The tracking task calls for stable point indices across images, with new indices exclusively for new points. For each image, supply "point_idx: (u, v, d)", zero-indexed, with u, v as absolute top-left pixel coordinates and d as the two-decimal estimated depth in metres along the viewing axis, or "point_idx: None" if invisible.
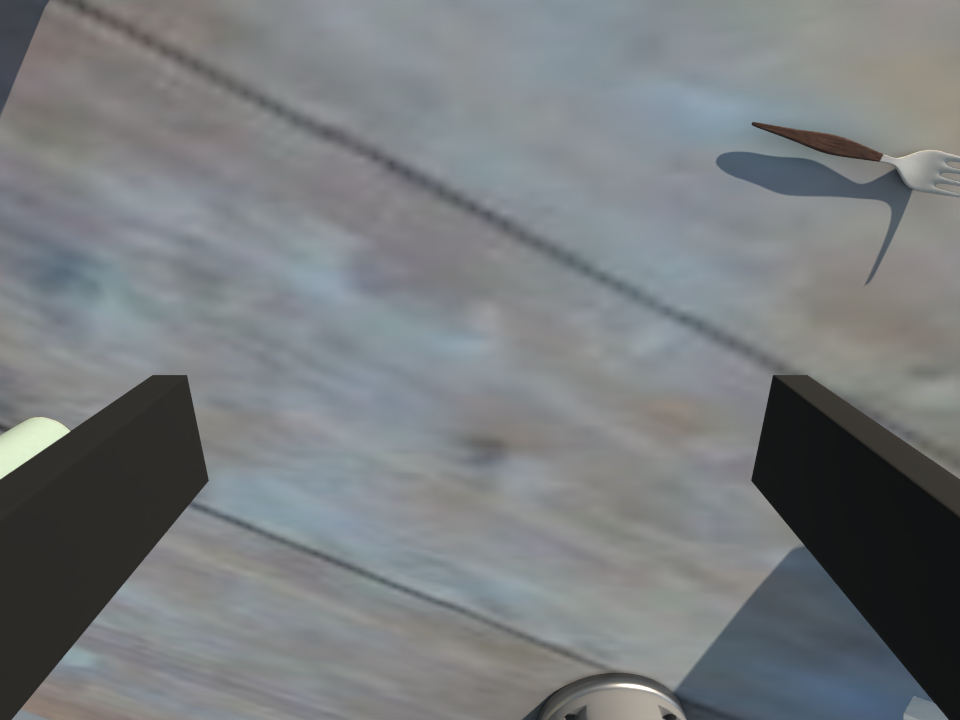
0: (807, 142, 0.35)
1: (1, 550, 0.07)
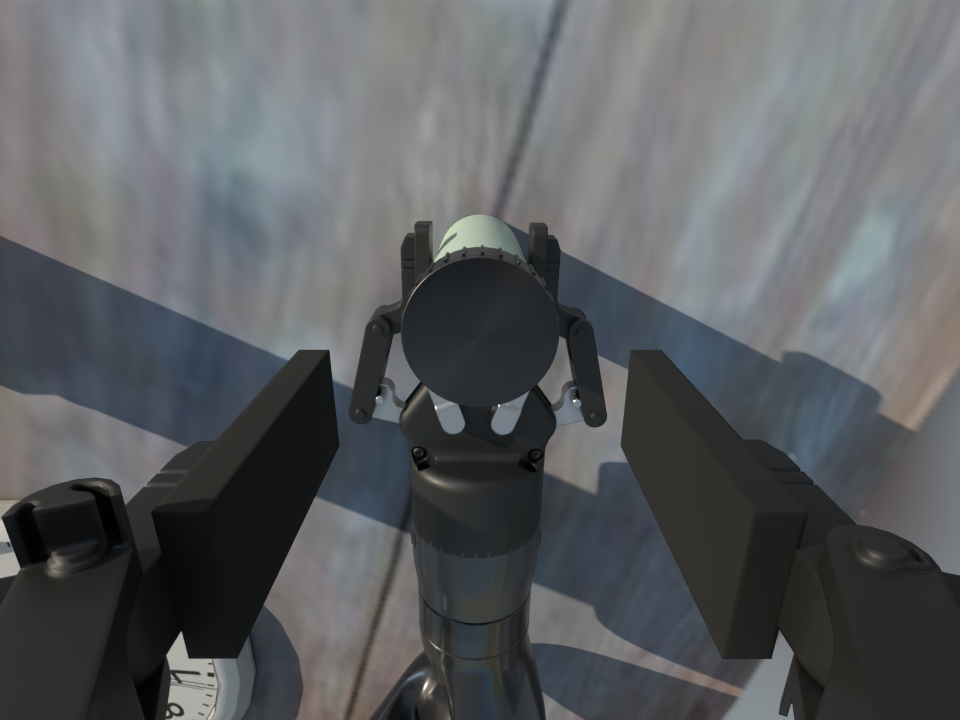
0: None
1: (250, 482, 0.09)
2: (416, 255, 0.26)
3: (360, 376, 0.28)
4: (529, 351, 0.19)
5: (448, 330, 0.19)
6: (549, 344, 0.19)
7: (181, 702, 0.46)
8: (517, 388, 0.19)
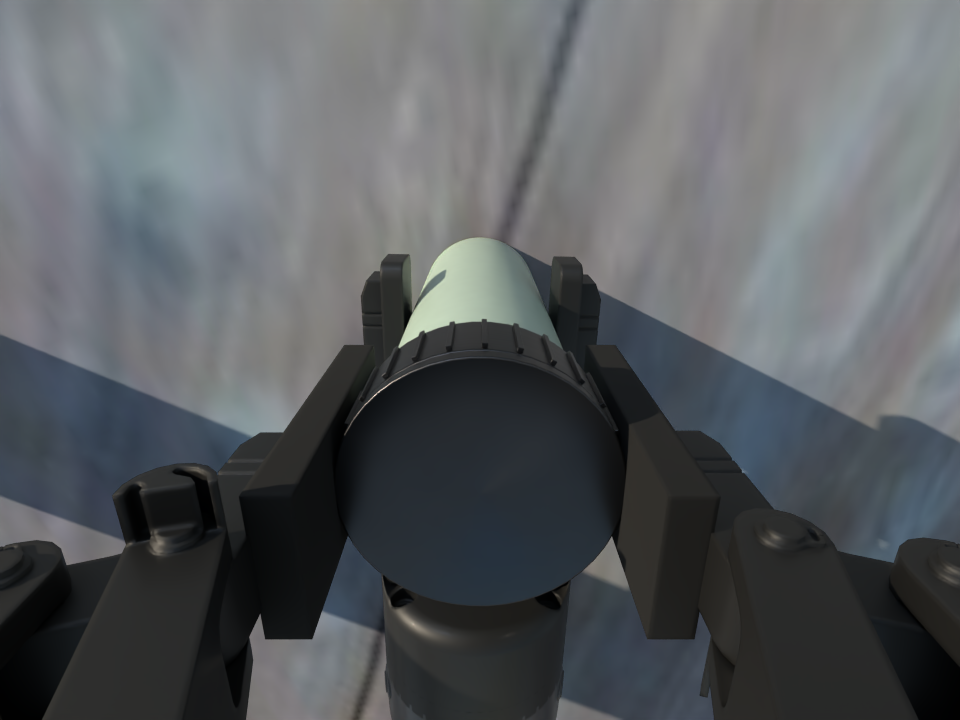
0: None
1: (320, 469, 0.09)
2: (384, 308, 0.17)
3: None
4: (570, 519, 0.10)
5: (421, 484, 0.10)
6: (608, 507, 0.10)
7: None
8: (547, 578, 0.11)
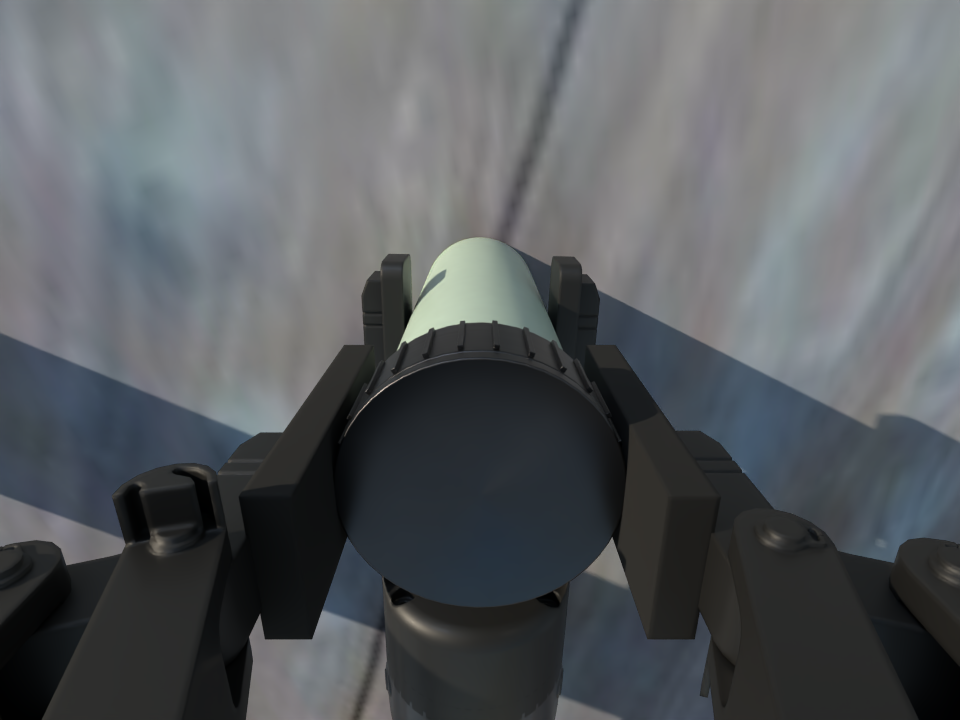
0: None
1: (320, 469, 0.09)
2: (384, 307, 0.17)
3: None
4: (466, 408, 0.09)
5: (494, 542, 0.10)
6: (435, 380, 0.09)
7: None
8: (549, 394, 0.09)
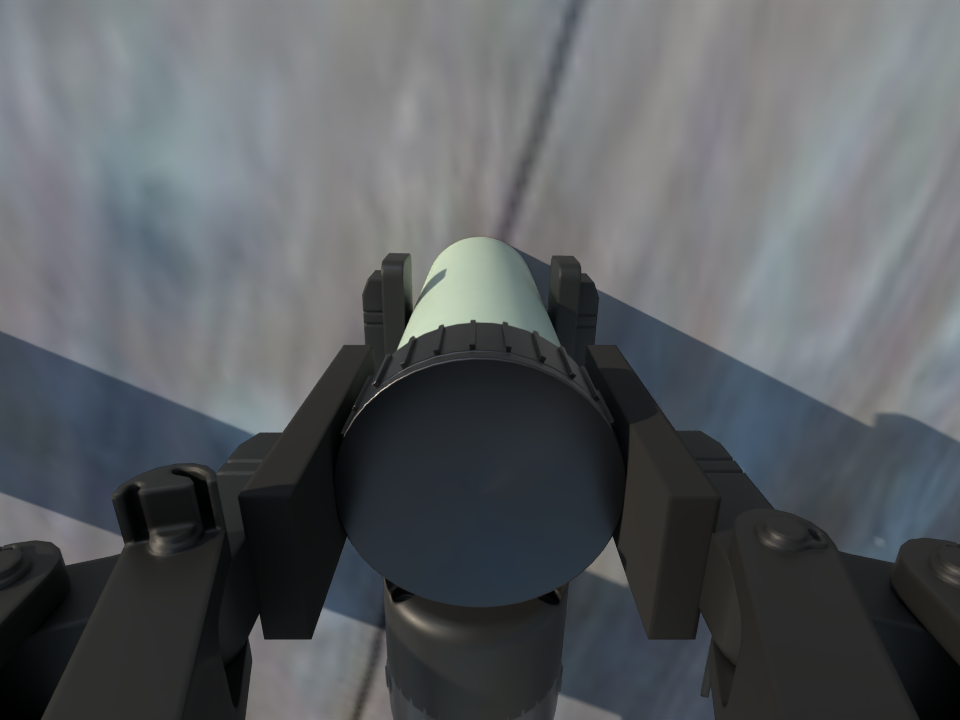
0: None
1: (319, 470, 0.09)
2: (385, 306, 0.17)
3: None
4: (401, 539, 0.10)
5: (526, 461, 0.10)
6: (390, 566, 0.11)
7: None
8: (351, 486, 0.10)
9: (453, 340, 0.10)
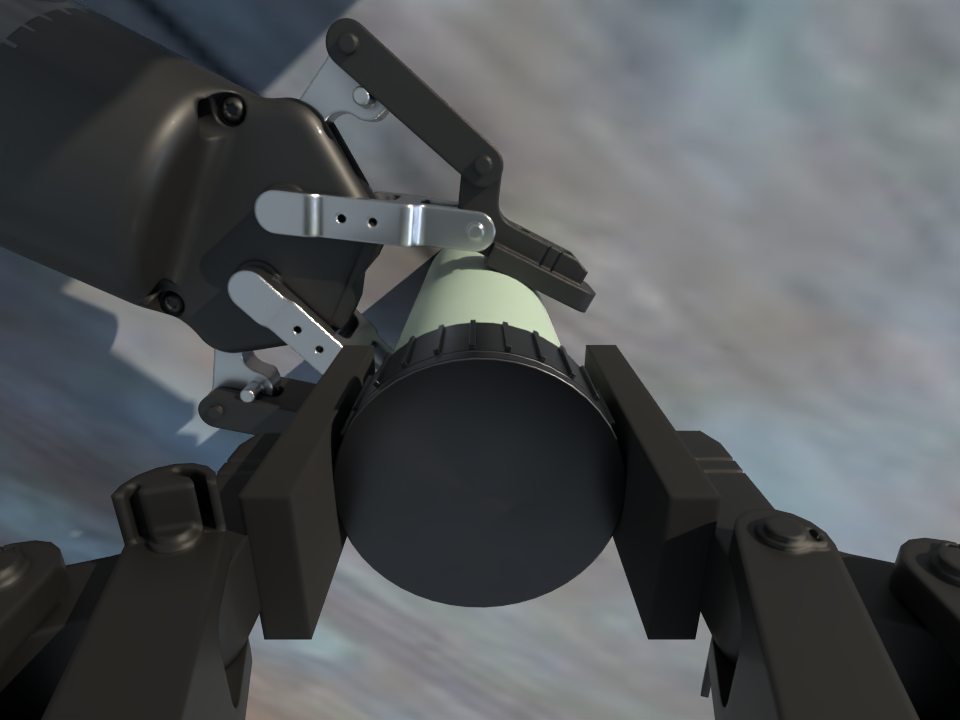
0: None
1: (319, 469, 0.09)
2: (559, 280, 0.17)
3: (418, 87, 0.15)
4: (401, 539, 0.10)
5: (526, 461, 0.10)
6: (390, 566, 0.11)
7: None
8: (351, 486, 0.10)
9: (453, 340, 0.10)
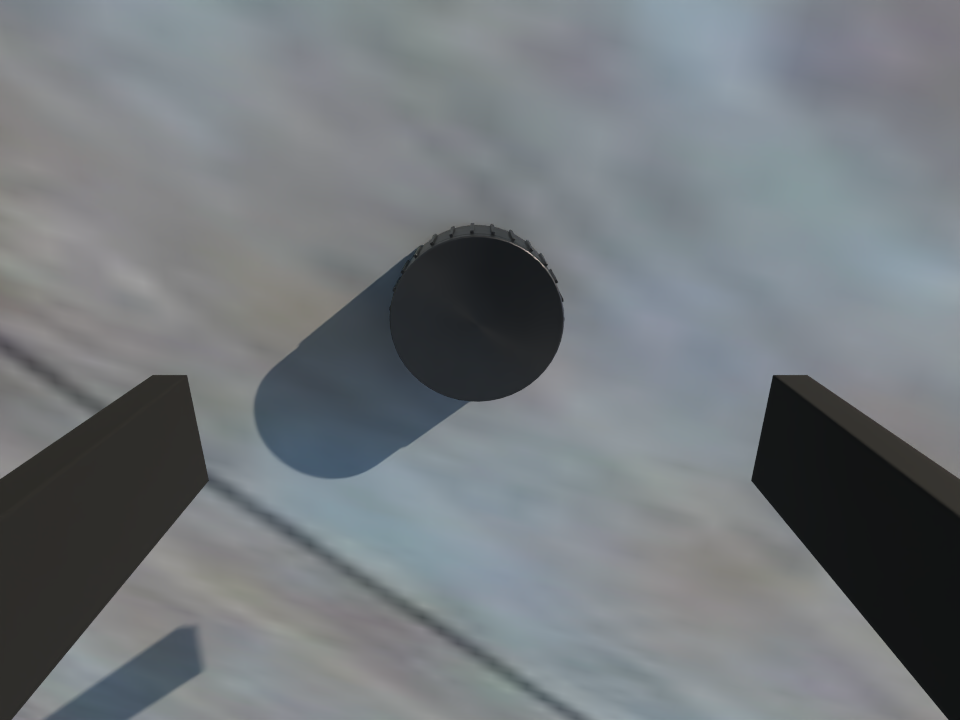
0: None
1: (1, 550, 0.07)
2: None
3: None
4: (429, 353, 0.17)
5: (504, 301, 0.17)
6: (423, 373, 0.18)
7: None
8: (400, 318, 0.17)
9: (460, 231, 0.17)
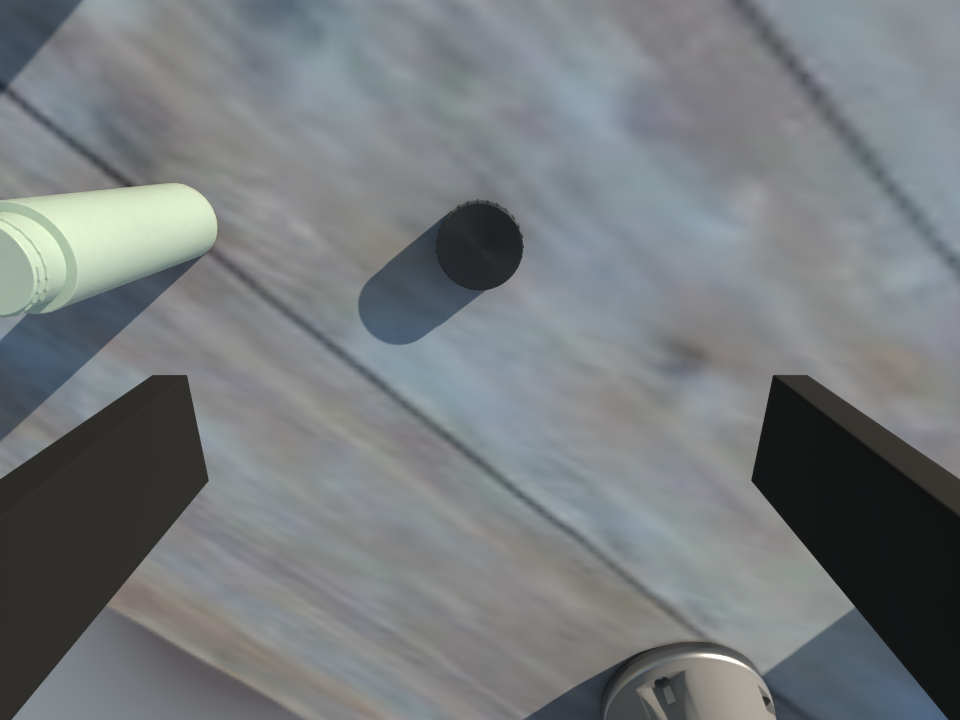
0: None
1: (1, 550, 0.07)
2: None
3: None
4: (456, 263, 0.35)
5: (493, 236, 0.34)
6: (452, 274, 0.35)
7: None
8: (442, 245, 0.34)
9: (471, 202, 0.34)
